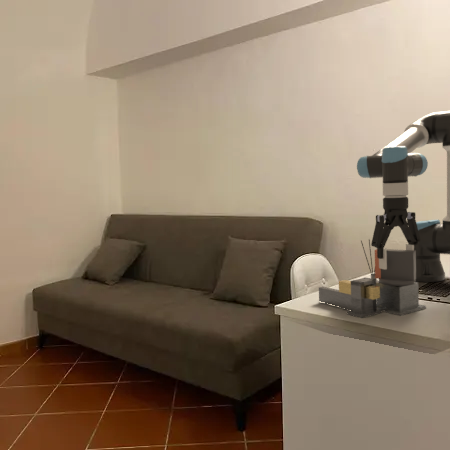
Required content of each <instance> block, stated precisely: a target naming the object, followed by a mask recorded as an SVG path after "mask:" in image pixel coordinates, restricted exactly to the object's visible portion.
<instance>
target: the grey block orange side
mask: <svg viewBox="0 0 450 450" xmlns="http://www.w3.org/2000/svg"><path fill="white" fill-rule="evenodd" d="M386 252H387V269H380V268H379V258H378V257H377V248H376V249H374V270H375V278H376V279H377V280H378V281H379V283H380V284H383V285H389V286H408V285H413V284H415V283H416V282H417V281H416V250H406V249H393V248H392V249H389V248H386Z"/></svg>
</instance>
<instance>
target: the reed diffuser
mask: <svg viewBox="0 0 450 450" xmlns="http://www.w3.org/2000/svg"><path fill="white" fill-rule="evenodd" d="M360 243H361V247H362V249H363V253H364V255H365V259H366V262H367V265H368V269H369V272H370V278H371V279H376V283H378V282H379V279H377V278H375V269H374V270H373V268H374V267H373V260H372V259H373V258H372V251H371V240H370V238H369V239H368V245H369V246H368V247H369V254H370V256H369V257H370V263H369V260H368V257H367V254H366V251H365V248H364V244H363V241H362V240H360ZM370 264H371V267H370Z"/></svg>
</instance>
